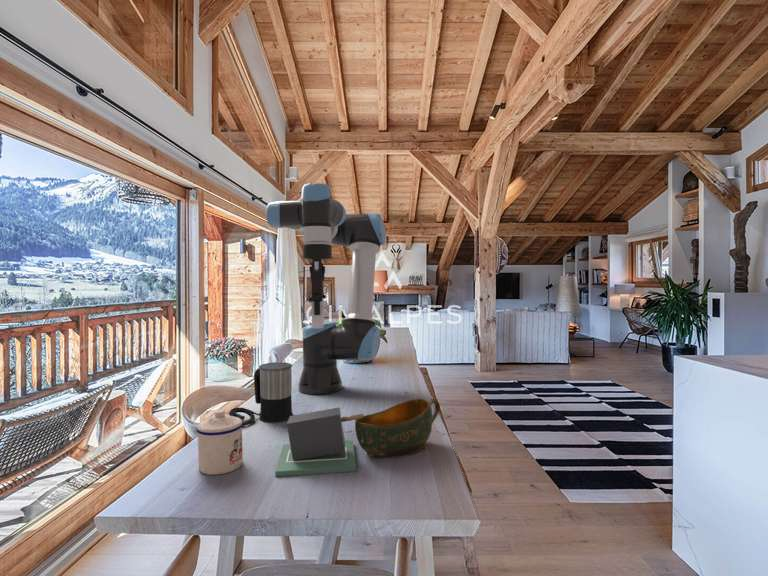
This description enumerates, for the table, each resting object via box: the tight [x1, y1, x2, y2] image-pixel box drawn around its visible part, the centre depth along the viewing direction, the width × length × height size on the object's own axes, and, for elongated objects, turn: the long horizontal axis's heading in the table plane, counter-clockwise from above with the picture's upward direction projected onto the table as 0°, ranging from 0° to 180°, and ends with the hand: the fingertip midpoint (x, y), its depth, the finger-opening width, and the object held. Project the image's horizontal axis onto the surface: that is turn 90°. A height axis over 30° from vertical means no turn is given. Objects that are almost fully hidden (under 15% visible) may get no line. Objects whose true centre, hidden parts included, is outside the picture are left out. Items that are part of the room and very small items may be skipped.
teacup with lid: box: [196, 409, 244, 476], centre depth 92 cm, size 12×9×12 cm
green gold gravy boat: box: [354, 397, 441, 459], centre depth 99 cm, size 13×20×10 cm, turn 92°
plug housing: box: [286, 407, 365, 461], centre depth 94 cm, size 5×16×8 cm, turn 95°
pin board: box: [274, 439, 357, 477], centre depth 94 cm, size 14×16×4 cm
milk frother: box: [228, 361, 294, 426], centre depth 120 cm, size 14×16×15 cm
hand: (318, 325), depth 114 cm, fingers open, 13 cm apart
